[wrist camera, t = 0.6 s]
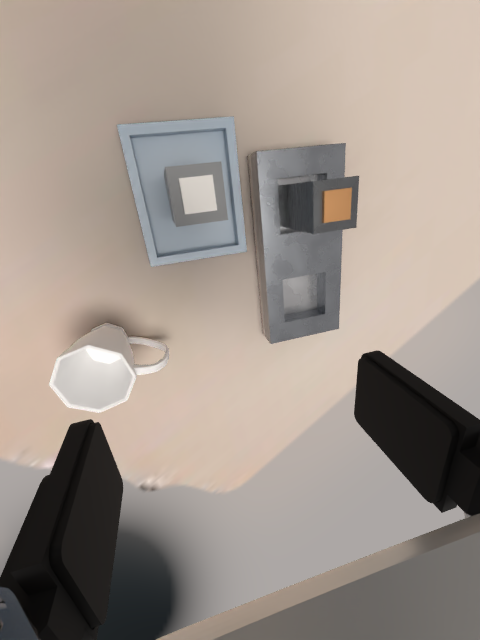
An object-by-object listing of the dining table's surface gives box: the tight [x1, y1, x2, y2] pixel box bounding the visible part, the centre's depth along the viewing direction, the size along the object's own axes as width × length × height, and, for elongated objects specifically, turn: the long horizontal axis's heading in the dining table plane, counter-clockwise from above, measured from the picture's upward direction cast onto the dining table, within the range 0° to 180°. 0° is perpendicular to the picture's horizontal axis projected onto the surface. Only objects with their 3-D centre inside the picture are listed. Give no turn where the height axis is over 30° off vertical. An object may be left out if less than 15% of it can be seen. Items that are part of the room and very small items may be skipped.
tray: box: [117, 116, 247, 267], centre depth 28 cm, size 12×10×2 cm
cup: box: [49, 323, 169, 413], centre depth 29 cm, size 7×10×8 cm
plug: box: [164, 161, 228, 227], centre depth 24 cm, size 4×4×8 cm
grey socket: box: [248, 143, 359, 344], centre depth 29 cm, size 20×9×9 cm, turn 6°
